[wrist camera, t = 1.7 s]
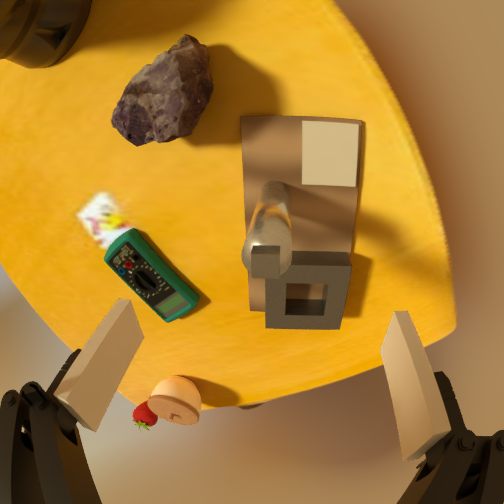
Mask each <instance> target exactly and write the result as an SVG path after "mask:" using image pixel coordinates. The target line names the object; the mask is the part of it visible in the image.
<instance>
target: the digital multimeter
mask: <svg viewBox="0 0 504 504" xmlns="http://www.w3.org/2000/svg"><path fill="white" fill-rule="evenodd" d="M104 261H105V262H106V263H107V264H108V265H109V266H110V267H111V268H112V270H113V271H114V272H115V273H116V274H117V275H118V276H119V277H120V278H121V279H122V280H123V281H124V282H125V283H126V284H127V285H128V286H129V287H130V288H131V289H132V290H133V291H134V292H135V293H136V294H137V295H138V296H139V297H140V298H141V299H142V300H143V301H144V302H145V303H146V304H148V305H149V306H150V307H151V308H152V309H153V310H154V311H155V312H156V313H157V314H158V315H159V316H160V317H161V318H162V319H163V320H164V321H165V322H167V323H169V322H171V321H174V320H176V319H178V318H180V317H181V316H183V315H185V314H186V313H188V312H189V311H191V310H192V309H193V308H194V307H196V306H197V303H198V301H199V299H200V297H199V295H198V294H197V293H195V292H194V291H193V290H192V289H191V288H190V287H189V286H188V285H187V284H186V283H185V282H184V281H182V280H181V279H180V278H179V277H178V276H177V275H176V274H175V273H174V272H173V271H172V270H171V269H170V268H169V267H168V266H167V265H166V264H165V263H164V262H163V260H162V259H161V258H160V257H159V256H158V255H157V254H156V253H155V252H154V250H153V249H152V248H151V247H150V246H149V245H148V244H147V243H146V241H145V240H144V239H143V238H142V237H141V235H140V234H139V233H138V232H137V230H136V229H134V228H132V229H130V230H128V231H127V232H125V233H123V234H122V235H121V236H119V237H118V238H117V239H116V240H115V241H114V242H113V243H112V244H111V245H110V247H109V248H108V250H107V252H106V254H105V257H104ZM151 265H152V266H153V267H154V268H153V267H152V266H151Z"/></svg>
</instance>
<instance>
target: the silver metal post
mask: <svg viewBox="0 0 504 504" xmlns="http://www.w3.org/2000/svg"><path fill="white" fill-rule="evenodd" d="M242 261H243V264H244V266H245V267H246V269H247V270H248V271H249V272H251V273H252V278H269V279H279V277H280V275H282V274H283V273H285V272H286V271H287V270H288V268H289V267H290V265H291V262H292V235H291V206H290V192H289V189H288V187H287V186H286V185H285V184H283V183H282V182H279V181H270V182H268V183H266V184H265V185H264V186H263V187H262V189H261V191H260V194H259V197H258V201H257V204H256V207H255V210H254V214H253V217H252V220H251V223H250V227H249V230H248V233H247V237H246V240H245V243H244V246H243V250H242Z"/></svg>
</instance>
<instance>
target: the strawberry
mask: <svg viewBox="0 0 504 504" xmlns="http://www.w3.org/2000/svg"><path fill="white" fill-rule="evenodd" d="M147 402H148V400H147V401H145V402H143V403H142V404H140V405H139V406H138V407H137V408H136V409H135V410H134V412H133V418H134V420H133V421H134V422H136V423H137V424H135V425H138V426H139V427H140V426H142V427H143V428H145V429H147V430H149V429H148V428H147V427H151V426H153V425H155V424H156V422H157V420H158V415H156V414H155V413H153V412H152V411H151V410H150V408H149V407H148V404H147Z"/></svg>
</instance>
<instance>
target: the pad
mask: <svg viewBox="0 0 504 504" xmlns="http://www.w3.org/2000/svg"><path fill="white" fill-rule="evenodd" d="M358 130H359V125H358V124H349V123H337V122H321V121H302V184H305V185H331V186H350V187H355V186H356V172H357V155H358Z"/></svg>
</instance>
